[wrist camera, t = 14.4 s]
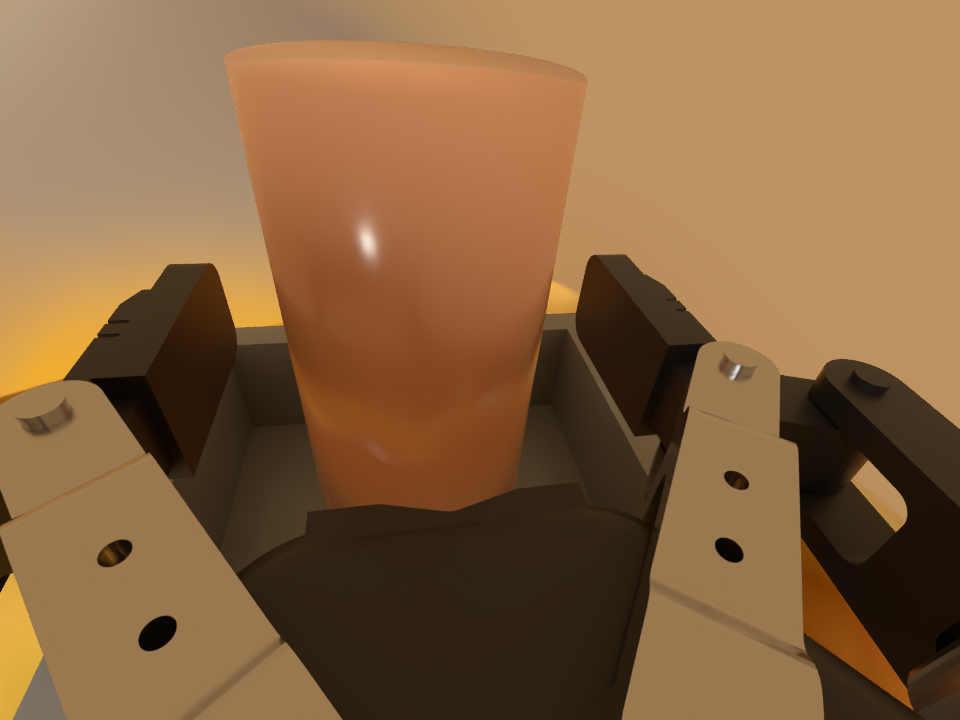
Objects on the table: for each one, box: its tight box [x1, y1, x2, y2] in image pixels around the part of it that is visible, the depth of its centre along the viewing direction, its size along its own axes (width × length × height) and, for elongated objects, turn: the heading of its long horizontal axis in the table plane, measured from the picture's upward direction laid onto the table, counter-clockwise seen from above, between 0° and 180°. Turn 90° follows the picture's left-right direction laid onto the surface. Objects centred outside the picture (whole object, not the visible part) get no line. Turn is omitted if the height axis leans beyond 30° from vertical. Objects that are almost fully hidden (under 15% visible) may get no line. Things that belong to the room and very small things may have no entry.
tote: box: [13, 313, 660, 720], centre depth 16 cm, size 16×16×5 cm
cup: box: [224, 40, 587, 511], centre depth 12 cm, size 6×6×15 cm
